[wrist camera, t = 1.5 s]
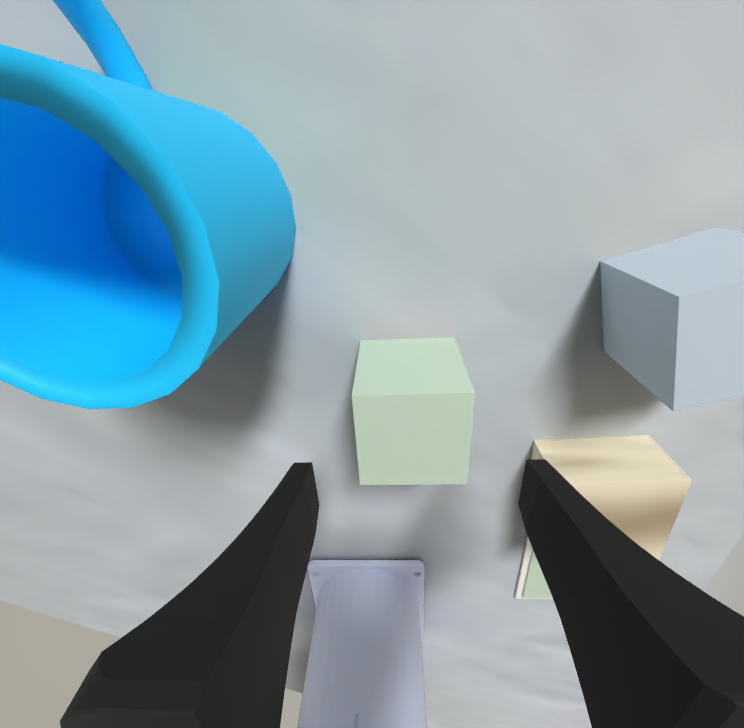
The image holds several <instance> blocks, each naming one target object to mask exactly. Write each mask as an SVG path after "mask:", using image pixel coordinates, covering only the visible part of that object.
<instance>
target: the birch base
mask: <svg viewBox="0 0 744 728" xmlns="http://www.w3.org/2000/svg"><path fill="white" fill-rule="evenodd" d="M538 459H546V460H547V461H548V462H549V463H550V464H551V465H552V466H553V467H554V468H555V469H556V470H557V471H558V472H559V473H560V474H561V475H562V476H563V477H564V478H565V479H566V480H567V481H568V482H569V483H570V484H571V485H572V486H573V487H574V488H575V489H576V490H577V491H578V492H579V493H580V494H581V495H582V496H583V497H584V498H585V499H586V500H587V501H589V502H590V503H591V504H592V505H593V506H594V507H595V508H596V509H597V510H598V511H599V512H600V513H601V514H603V515H604V516H605V517H606V518H607V519H608V520H609V521H610V522H612V523H613V524H614V525H615V526H616V527H617V528H619V529H620V530H621V531H622V532H623V533H625V534H626V535H627V536H628V537H629V538H631V539H632V540H633V541H634V542H636V543H637V544H638V545H639V546H641V547H642V548H643V549H644V550H646V551H647V552H648V553H650V554H651V555H652V556H654V557H655V558H656V559H658V560H659V559H660V556H661V554H662V551H663V549H664V547H665V544H666V542H667V539H668V537H669V534H670V532H671V530H672V527H673V525H674V522H675V520H676V518H677V515H678V513H679V510H680V508H681V506H682V503H683V501H684V498H685V496H686V493H687V491H688V489H689V486H690V484H691V481H692V480H691V479H690V478H689V477H688V476H687V475H686V474H685V473H684V472H683V471H682V470H681V469H680V467H679V466H678V465H677V464H676V463H675V462H674V461H673V460H672V459H671V458H670V457H669V456H668V455H667V454H666V453H665V452H664V451H663V450H662V449H661V448H660V447H659V446H658V445H657V444H656V442H655V441H654V440H653V439H652V438H651V437H650V436H649V435H641V436H619V437H597V438H575V439H553V440H534V443H533V450H532V457H531V460H538Z"/></svg>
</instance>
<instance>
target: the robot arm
mask: <svg viewBox="0 0 744 728" xmlns="http://www.w3.org/2000/svg"><path fill="white" fill-rule="evenodd" d="M519 507H520V511H521V515H522V519H523V522H524V526H525V529H526V533H527V536H528V538H529V541H530V543H531V546H532V548H533V551H534V553H535V556H536V558H537V561H538V563H539V566H540V568H541V570H542V573H543V575H544V578H545V580H546V583H547V585H548V587H549V590H550V592H551V595H552V597H553V600H554V602H555V605H556V607H557V610H558V613H559V616H560V618H561V621H562V625H563V628H564V631H565V634H566V638H567V641H568V644H569V647H570V651H571V654H572V657H573V661H574V664H575V668H576V671H577V675H578V678H579V681H580V685H581V688H582V692H583V695H584V699H585V703H586V707H587V710H588V714H589V718H590V722H591V725H592V728H744V617H743V616H742V615H740V614H738V613H737V612H735V611H733V610H732V609H730V608H728V607H727V606H725V605H724V604H722V603H721V602H719V601H717V600H716V599H714V598H712V597H711V596H709V595H708V594H706V593H705V592H703V591H702V590H700V589H699V588H698V587H696V586H695V585H693V584H692V583H690V582H689V581H687V580H686V579H684V578H683V577H681V576H680V575H678V574H677V573H675V572H674V571H673V570H671V569H670V568H668V567H667V566H666V565H664V564H663V563H662V562H660V561H659V560H658V559H656V558H655V557H654V556H652V555H651V554H650V553H648V552H647V551H646V550H644V549H643V548H642V547H641V546H639V545H638V544H637V543H636V542H634V541H633V540H632V539H631V538H629V537H628V536H627V535H626V534H625V533H623V532H622V531H621V530H620V529H619V528H617V527H616V526H615V525H614V524H613V523H612V522H610V521H609V520H608V519H607V518H606V517H605V516H604V515H603V514H601V513H600V512H599V511H598V510H597V509H596V508H595V507H594V506H593V505H592V504H591V503H590V502H589V501H587V500H586V499H585V498H584V497H583V496H582V495H581V494H580V493H579V492H578V491H577V490H576V489H575V488H574V487H573V486H572V485H571V484H570V483H569V482H568V481H567V480H566V479H565V478H564V477H563V476H562V475H561V474H560V473H559V472H558V471H557V470H556V469H555V468H554V467H553V466H552V465H551V464H550V463H549V462H548V461H547V460H546V459H538V460H526V466H525V471H524V476H523V482H522V487H521V493H520V498H519ZM318 510H319V501H318V495H317V489H316V483H315V477H314V471H313V465H312V463H294V464H293V465H292V466H291V467H290V469H289V470H288V472H287V473H286V475H285V476H284V478H283V479H282V481H281V482H280V483H279V485H278V486H277V488H276V489H275V490H274V492H273V493H272V495H271V496H270V497H269V499H268V500H267V501H266V502H265V504H264V505H263V506H262V508H261V509H260V510H259V512H258V513H257V514H256V515H255V517H254V518H253V519H252V520H251V521H250V523H249V524H248V525H247V526H246V527H245V528H244V530H243V531H242V532H241V533H240V534H239V535H238V537H237V538H236V539H235V540H234V541H233V542H232V543H231V544H230V545H229V546H228V548H227V549H226V550H225V551H224V552H223V553H222V554H221V555H220V556H219V557H218V558H217V559H216V560H215V561H214V562H213V563H212V564H211V565H210V566H209V567H208V568H207V569H206V570H204V571H203V572H202V573H201V574H200V575H199V576H198V577H197V578H196V579H195V580H194V581H193V582H192V583H190V584H189V585H188V586H187V587H186V588H185V589H184V590H183V591H181V592H180V593H179V594H178V595H176V596H175V597H174V598H173V599H172V600H170V601H169V602H168V603H167V604H166V605H164V606H163V607H162V608H161V609H159V610H158V611H157V612H156V613H155V614H153V615H152V616H151V617H149V618H148V619H147V620H146V621H144V622H143V623H142V624H140V625H139V626H137V627H136V628H135V629H133V630H132V631H130V632H129V633H128V634H126V635H125V636H123V637H122V638H121V639H119V640H118V641H117V642H115V643H114V644H112V645H111V646H109V647H108V648H107V649H105V650H104V651H102V652H101V654H100V656H99V657H98V659H97V660H96V661H95V663H94V664H93V666H92V668H91V669H90V670H89V672H88V674H87V676H86V677H85V679H84V681H83V682H82V684H81V686H80V688H79V690H78V691H77V693H76V695H75V696H74V698H73V700H72V702H71V703H70V705H69V706H68V708H67V710H66V712H65V713H64V715H63V717H62V719H61V720H60V725H61V728H280V722H281V714H282V706H283V699H284V690H285V684H286V677H287V670H288V663H289V656H290V649H291V643H292V636H293V630H294V624H295V617H296V612H297V608H298V603H299V599H300V595H301V591H302V587H303V582H304V578H305V574H306V570H307V569H308V574H309V579H310V584H311V588H312V593H313V598H314V602H315V607H316V615H315V621H314V627H313V633H312V640H311V646H310V652H309V658H308V664H307V671H306V677H305V683H304V689H303V696H302V702H301V709H300V714H299V720H298V727H297V728H427V715H426V701H425V686H424V672H423V658H422V644H421V640H422V639H423V623H424V574H425V568H424V563H423V562H422V561H420V560H312V561H310V562H309V558H310V554H311V550H312V546H313V542H314V538H315V533H316V526H317V518H318ZM308 562H309V563H308ZM307 566H308V567H307Z"/></svg>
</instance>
